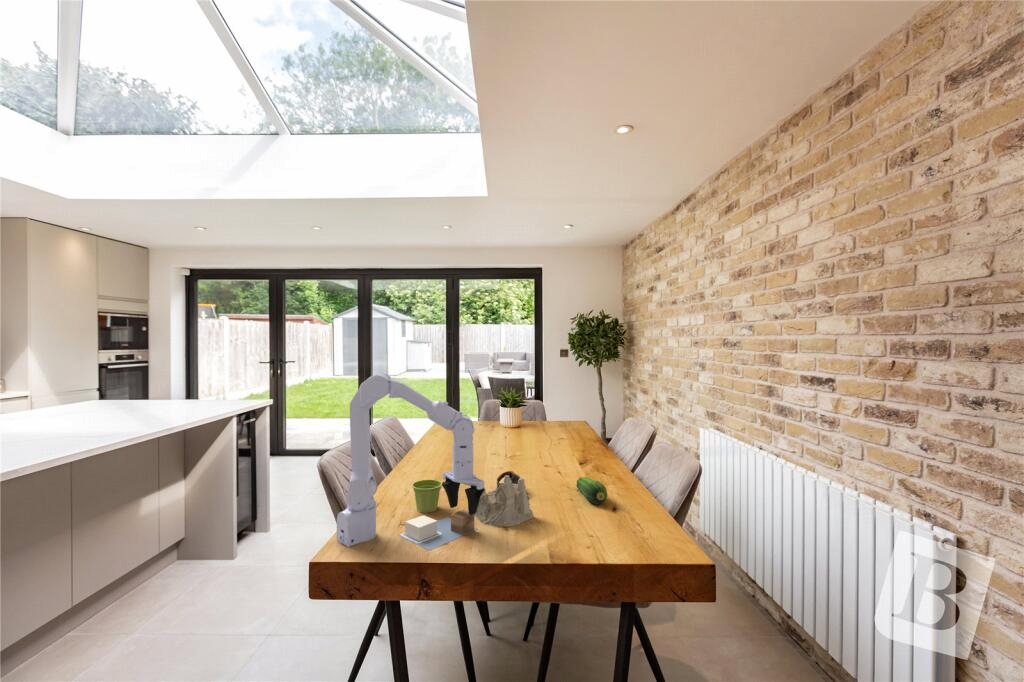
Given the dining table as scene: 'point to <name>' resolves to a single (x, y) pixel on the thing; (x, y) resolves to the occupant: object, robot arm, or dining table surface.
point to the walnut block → (462, 522)
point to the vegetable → (592, 490)
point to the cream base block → (421, 528)
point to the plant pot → (427, 494)
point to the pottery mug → (512, 477)
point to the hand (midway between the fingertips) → (462, 510)
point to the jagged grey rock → (505, 505)
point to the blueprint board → (437, 535)
